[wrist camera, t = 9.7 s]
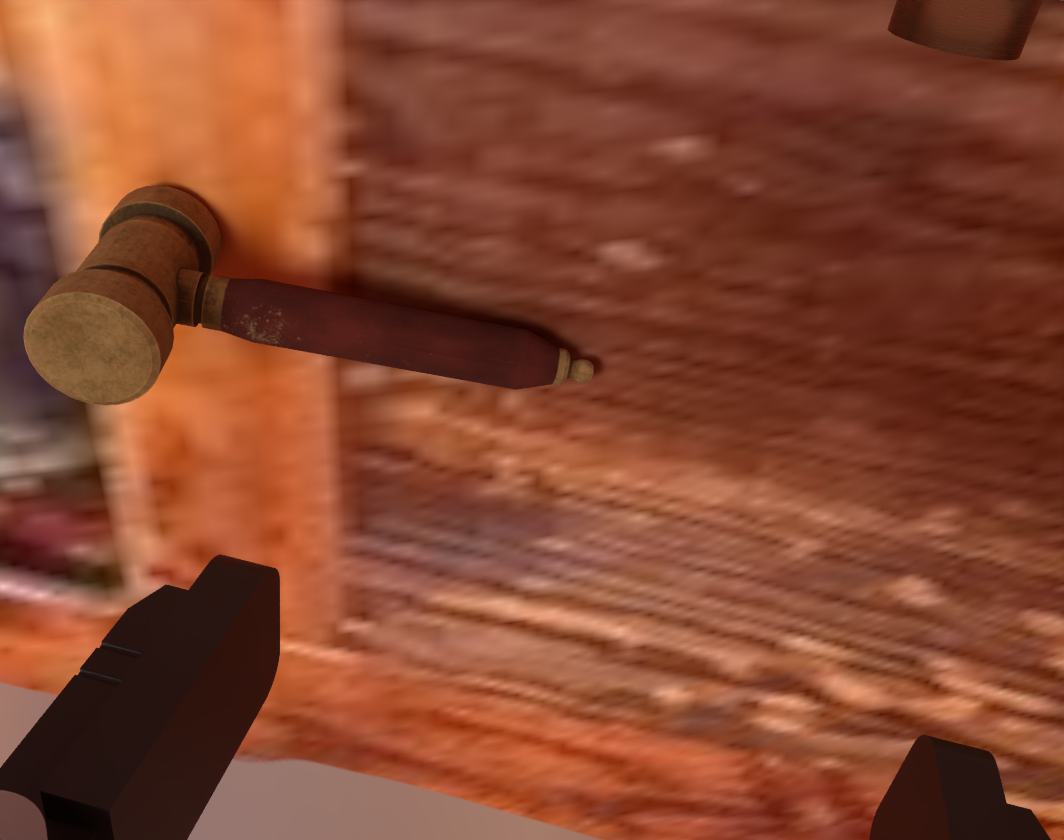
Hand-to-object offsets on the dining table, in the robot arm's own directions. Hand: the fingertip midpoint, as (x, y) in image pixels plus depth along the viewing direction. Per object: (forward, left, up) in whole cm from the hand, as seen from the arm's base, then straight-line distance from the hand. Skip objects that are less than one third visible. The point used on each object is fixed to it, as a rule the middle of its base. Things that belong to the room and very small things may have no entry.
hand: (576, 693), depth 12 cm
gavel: (+13, +10, -30) cm, 34 cm away
